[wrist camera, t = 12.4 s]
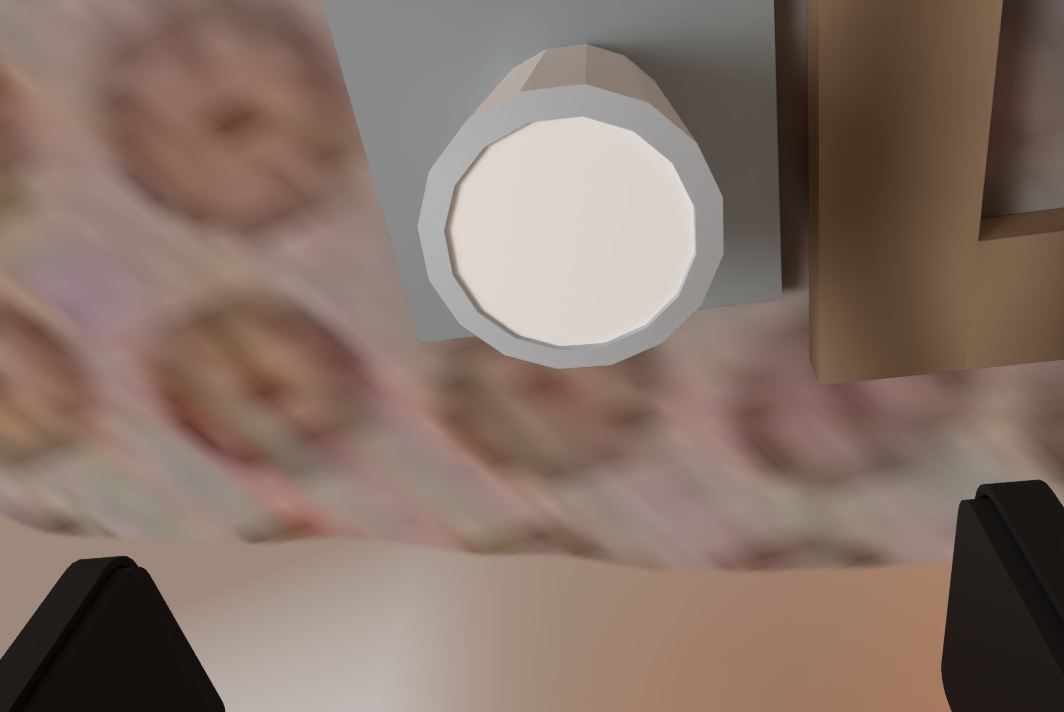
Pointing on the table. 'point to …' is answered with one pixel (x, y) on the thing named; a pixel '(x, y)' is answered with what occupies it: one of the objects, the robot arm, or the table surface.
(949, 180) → the pocket board
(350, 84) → the ceramic tile
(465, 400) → the table surface
